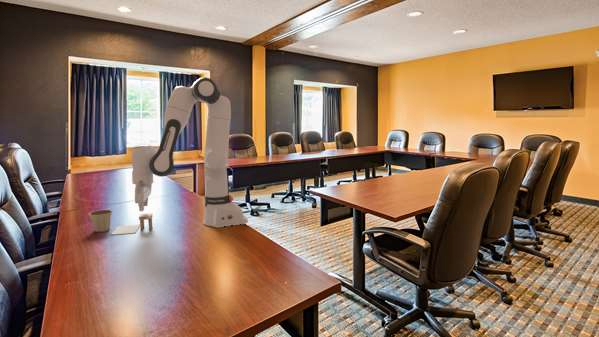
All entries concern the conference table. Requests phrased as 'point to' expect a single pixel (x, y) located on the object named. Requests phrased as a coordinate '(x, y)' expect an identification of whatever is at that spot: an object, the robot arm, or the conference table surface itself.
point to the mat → (125, 229)
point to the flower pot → (101, 220)
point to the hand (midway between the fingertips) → (143, 208)
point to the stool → (145, 217)
